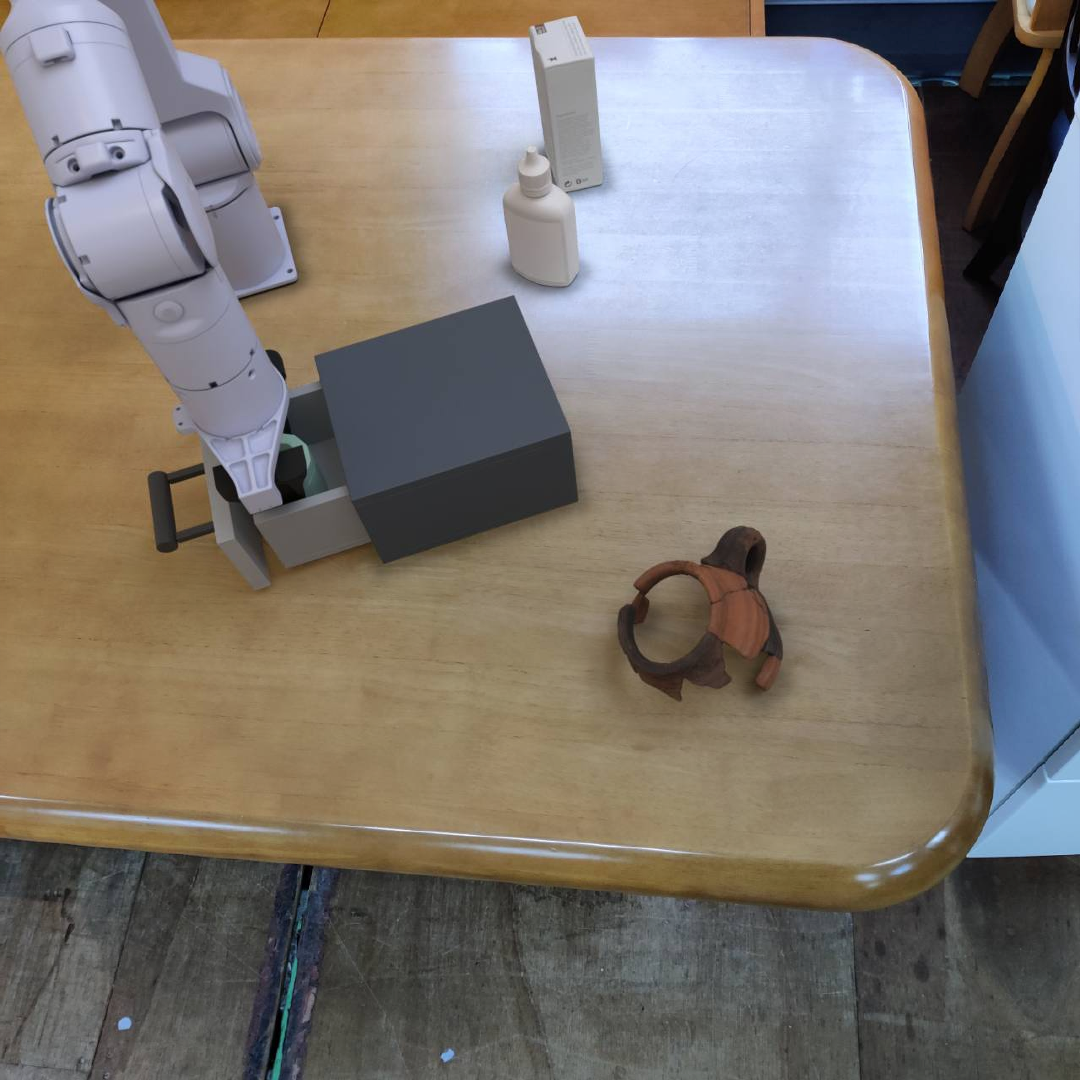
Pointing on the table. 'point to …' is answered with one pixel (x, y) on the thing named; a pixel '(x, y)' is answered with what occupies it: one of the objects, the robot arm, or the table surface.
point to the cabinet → (447, 429)
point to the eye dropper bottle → (541, 225)
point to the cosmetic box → (567, 102)
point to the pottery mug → (712, 617)
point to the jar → (314, 477)
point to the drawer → (286, 528)
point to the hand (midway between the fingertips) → (286, 479)
